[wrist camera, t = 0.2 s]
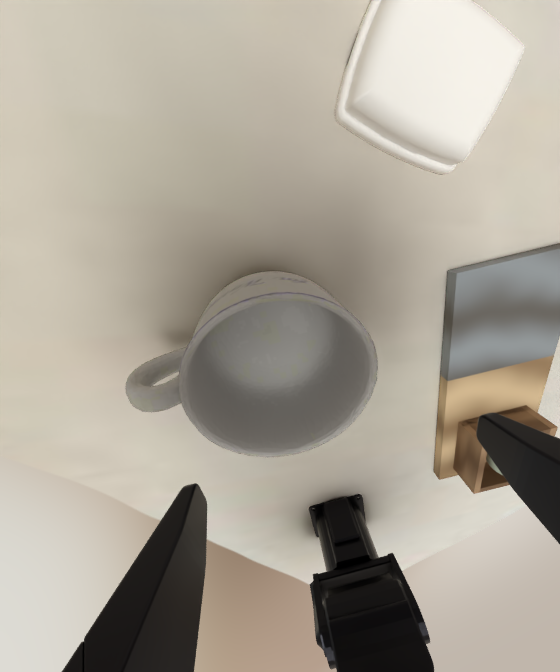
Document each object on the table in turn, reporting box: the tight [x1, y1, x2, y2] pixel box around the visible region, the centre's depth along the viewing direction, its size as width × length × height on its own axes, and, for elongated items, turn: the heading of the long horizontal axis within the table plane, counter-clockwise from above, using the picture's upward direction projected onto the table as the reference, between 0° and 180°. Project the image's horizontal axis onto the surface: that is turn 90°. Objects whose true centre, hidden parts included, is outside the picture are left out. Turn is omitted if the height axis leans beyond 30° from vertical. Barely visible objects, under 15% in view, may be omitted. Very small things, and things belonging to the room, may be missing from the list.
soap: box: [335, 0, 525, 174], centre depth 15 cm, size 9×7×3 cm
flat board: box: [434, 244, 560, 480], centre depth 25 cm, size 24×10×1 cm, turn 12°
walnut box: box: [453, 405, 558, 494], centre depth 27 cm, size 7×7×3 cm
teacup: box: [126, 271, 378, 457], centre depth 17 cm, size 14×11×8 cm
